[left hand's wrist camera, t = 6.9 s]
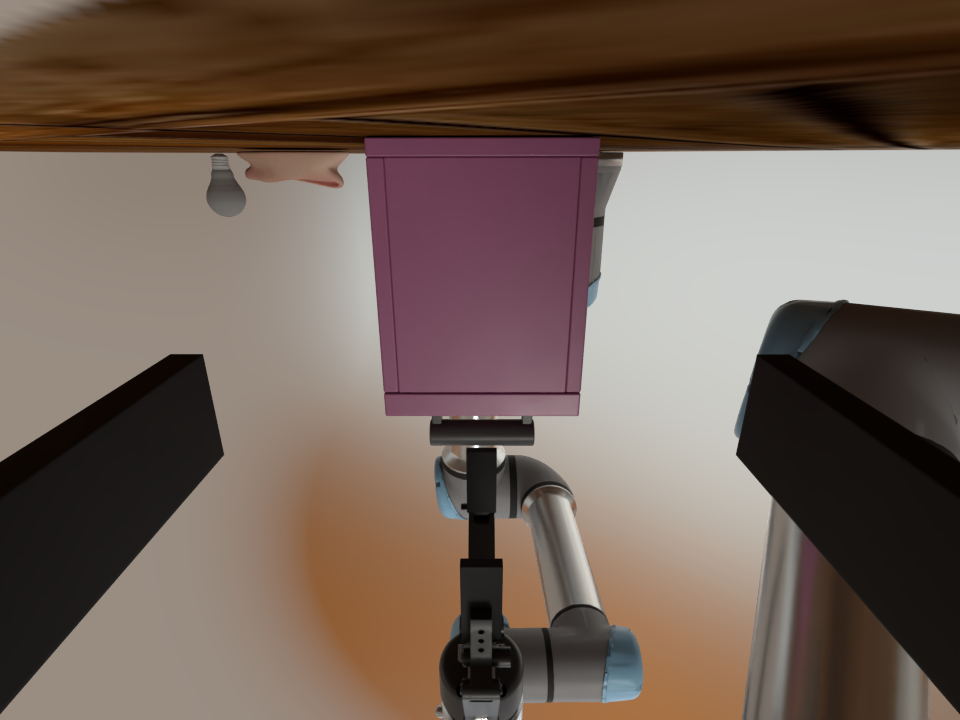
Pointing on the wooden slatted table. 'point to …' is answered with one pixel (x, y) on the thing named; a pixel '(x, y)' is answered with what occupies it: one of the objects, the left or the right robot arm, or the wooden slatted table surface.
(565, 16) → the wooden slatted table surface
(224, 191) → the light bulb
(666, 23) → the wooden slatted table surface
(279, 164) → the anatomical model
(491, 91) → the wooden slatted table surface
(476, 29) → the wooden slatted table surface
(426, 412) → the lid
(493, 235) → the chest
